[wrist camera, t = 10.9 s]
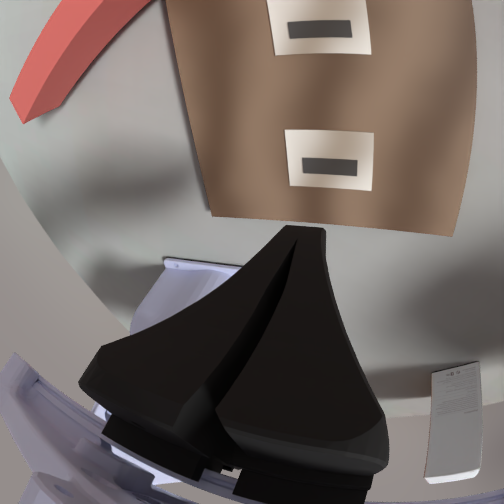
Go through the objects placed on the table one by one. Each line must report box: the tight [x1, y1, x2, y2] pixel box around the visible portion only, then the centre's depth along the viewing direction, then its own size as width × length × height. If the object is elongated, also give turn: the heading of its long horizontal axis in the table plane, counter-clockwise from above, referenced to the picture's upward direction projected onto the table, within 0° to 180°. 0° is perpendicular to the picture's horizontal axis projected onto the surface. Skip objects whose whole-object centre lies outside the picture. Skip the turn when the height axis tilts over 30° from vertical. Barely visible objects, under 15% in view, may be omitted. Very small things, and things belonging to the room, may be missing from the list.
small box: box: [424, 362, 483, 484], centre depth 22 cm, size 8×6×13 cm
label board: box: [166, 0, 477, 237], centre depth 12 cm, size 17×23×1 cm
